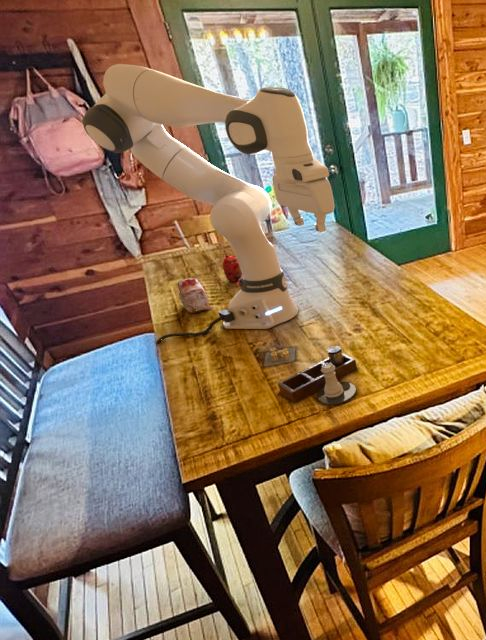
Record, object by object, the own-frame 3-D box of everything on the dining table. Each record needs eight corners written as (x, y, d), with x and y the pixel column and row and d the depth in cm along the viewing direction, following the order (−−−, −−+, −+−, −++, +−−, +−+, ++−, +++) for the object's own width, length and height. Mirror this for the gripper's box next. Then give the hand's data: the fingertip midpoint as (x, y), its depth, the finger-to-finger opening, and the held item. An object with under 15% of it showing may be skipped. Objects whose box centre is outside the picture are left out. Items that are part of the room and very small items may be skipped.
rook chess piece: (326, 389, 120) (319, 361, 116) (345, 387, 120) (338, 359, 116) (323, 399, 116) (315, 371, 112) (342, 397, 116) (335, 369, 112)
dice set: (290, 359, 134) (288, 353, 133) (270, 362, 133) (268, 356, 132) (290, 350, 138) (289, 344, 137) (271, 353, 137) (269, 348, 136)
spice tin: (331, 375, 126) (325, 353, 123) (333, 367, 129) (328, 346, 125) (345, 373, 126) (339, 352, 123) (347, 366, 129) (342, 345, 126)
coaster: (314, 406, 115) (314, 405, 114) (322, 385, 122) (322, 383, 122) (353, 403, 115) (352, 401, 115) (358, 382, 122) (358, 380, 122)
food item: (214, 309, 165) (203, 282, 160) (188, 317, 161) (176, 289, 156) (205, 297, 174) (195, 271, 169) (180, 304, 170) (169, 277, 165)
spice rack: (295, 403, 116) (291, 392, 115) (280, 393, 120) (277, 383, 119) (357, 369, 128) (355, 359, 126) (342, 361, 131) (340, 351, 130)
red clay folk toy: (237, 283, 184) (223, 244, 176) (222, 282, 186) (208, 243, 178) (251, 275, 190) (238, 237, 182) (236, 274, 192) (224, 236, 184)
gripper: (260, 167, 116) (276, 224, 124) (307, 174, 104) (322, 238, 112) (284, 162, 120) (298, 218, 127) (332, 169, 108) (345, 231, 116)
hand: (310, 228), depth 119 cm, fingers open, 8 cm apart
